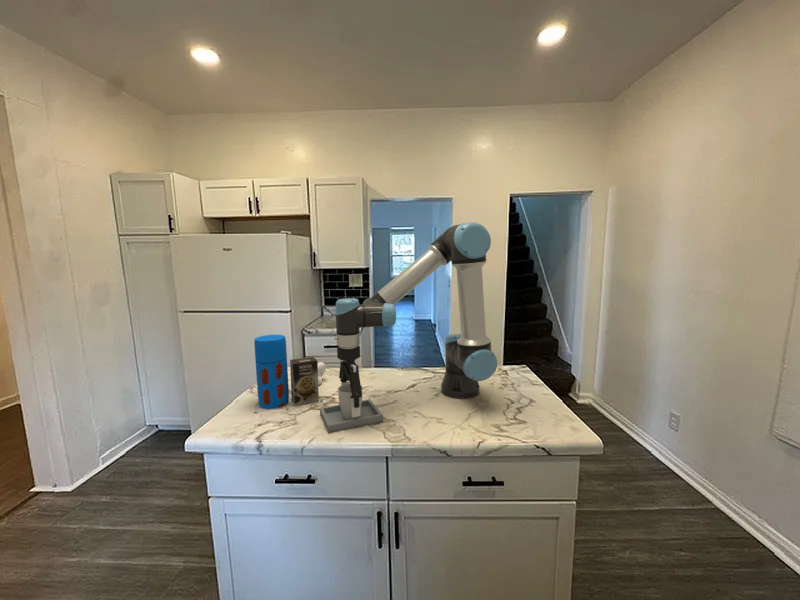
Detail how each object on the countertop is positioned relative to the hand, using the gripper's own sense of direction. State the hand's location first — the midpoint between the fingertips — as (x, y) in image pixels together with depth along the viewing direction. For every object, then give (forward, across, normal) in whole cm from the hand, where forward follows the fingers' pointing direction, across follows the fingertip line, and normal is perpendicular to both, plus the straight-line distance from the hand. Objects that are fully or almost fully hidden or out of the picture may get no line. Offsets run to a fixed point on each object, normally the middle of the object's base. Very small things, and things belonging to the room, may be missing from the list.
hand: (350, 407), depth 118 cm
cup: (+3, 0, 0) cm, 3 cm away
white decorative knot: (+4, -40, -7) cm, 41 cm away
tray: (+4, 0, 0) cm, 4 cm away
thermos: (+4, -24, -23) cm, 33 cm away
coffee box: (+4, -21, -12) cm, 24 cm away
